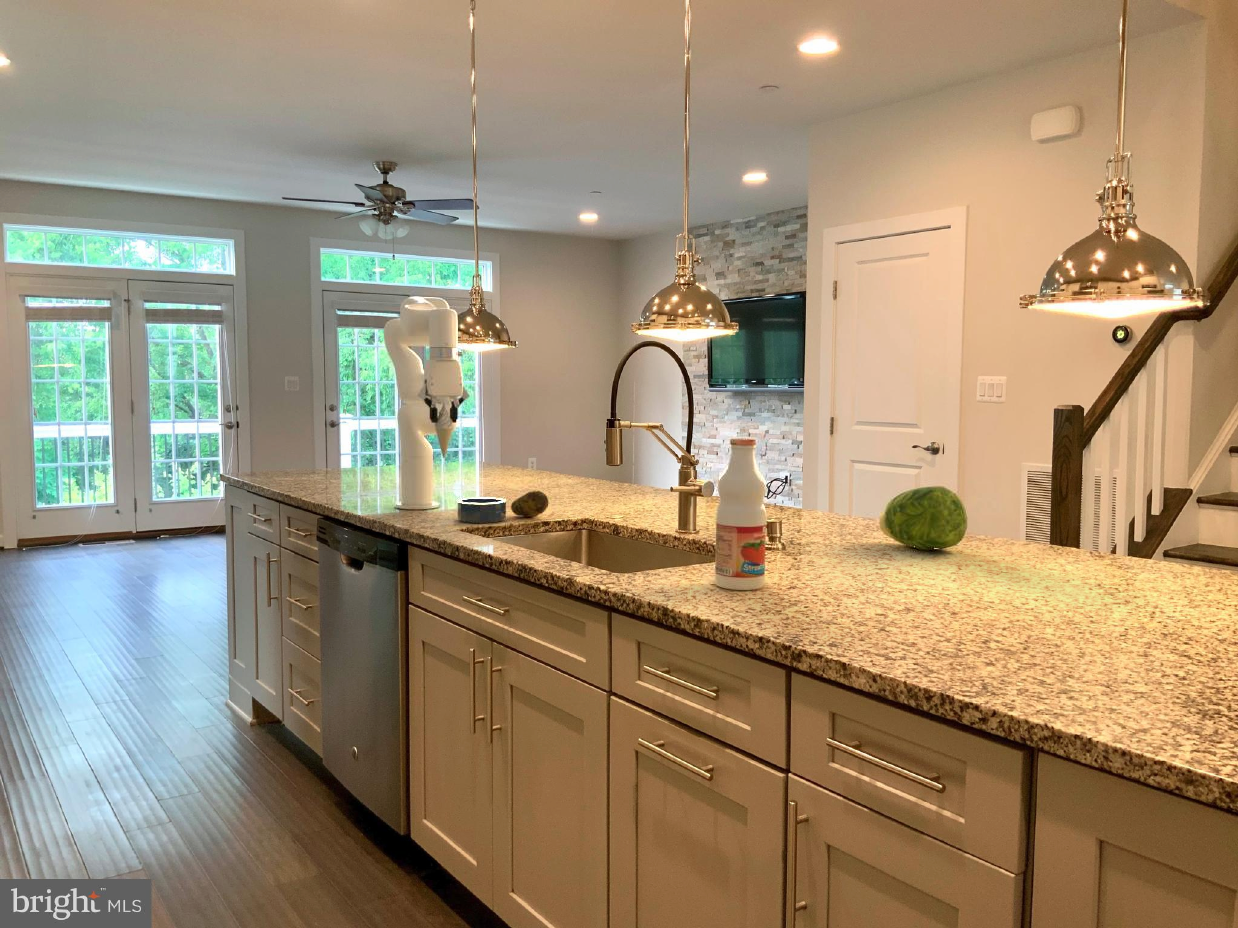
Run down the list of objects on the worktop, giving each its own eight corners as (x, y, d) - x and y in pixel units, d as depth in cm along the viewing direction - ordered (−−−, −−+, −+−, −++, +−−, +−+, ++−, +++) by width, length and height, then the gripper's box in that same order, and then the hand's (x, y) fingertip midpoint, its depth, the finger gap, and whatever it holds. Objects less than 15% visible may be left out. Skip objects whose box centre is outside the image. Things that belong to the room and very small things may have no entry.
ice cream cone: (433, 457, 254) (433, 402, 253) (451, 457, 256) (452, 402, 255) (436, 458, 249) (436, 402, 248) (454, 458, 251) (455, 403, 250)
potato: (535, 514, 271) (535, 486, 270) (552, 520, 259) (552, 491, 258) (508, 515, 267) (508, 488, 266) (524, 521, 255) (524, 493, 255)
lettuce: (914, 550, 233) (894, 492, 234) (988, 534, 217) (966, 472, 218) (876, 566, 223) (856, 506, 224) (950, 551, 207) (928, 486, 208)
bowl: (450, 518, 259) (450, 499, 259) (493, 515, 266) (493, 496, 266) (469, 525, 248) (469, 504, 248) (513, 521, 255) (513, 501, 255)
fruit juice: (725, 578, 183) (729, 437, 181) (771, 583, 179) (775, 438, 176) (706, 587, 175) (709, 439, 172) (754, 593, 170) (757, 441, 168)
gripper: (467, 356, 258) (467, 421, 260) (408, 354, 249) (408, 422, 251) (478, 355, 252) (478, 422, 253) (417, 353, 243) (418, 423, 244)
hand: (443, 421), depth 252 cm, fingers closed on ice cream cone, 4 cm apart
